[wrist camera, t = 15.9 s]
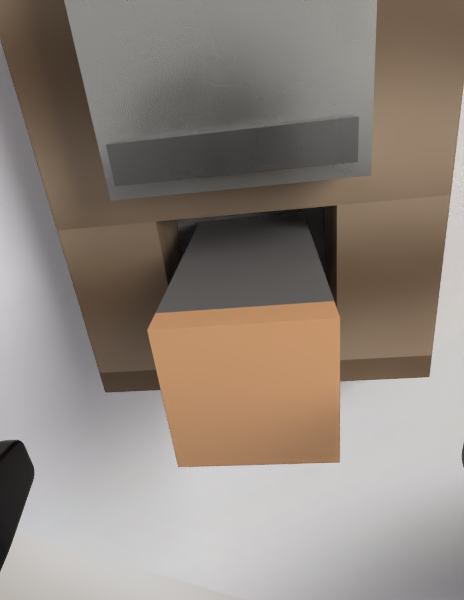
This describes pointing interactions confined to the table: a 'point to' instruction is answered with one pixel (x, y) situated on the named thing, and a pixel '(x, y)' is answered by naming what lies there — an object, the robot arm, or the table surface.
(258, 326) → the plug
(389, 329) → the socket board
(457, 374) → the table surface
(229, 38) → the panel
